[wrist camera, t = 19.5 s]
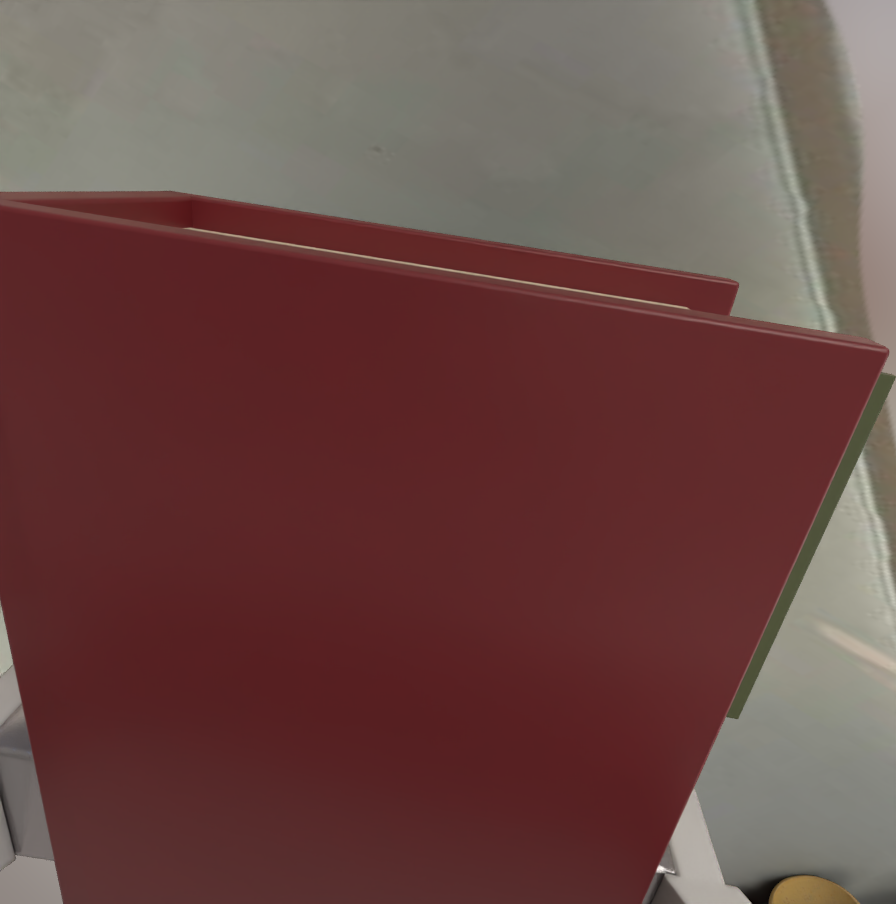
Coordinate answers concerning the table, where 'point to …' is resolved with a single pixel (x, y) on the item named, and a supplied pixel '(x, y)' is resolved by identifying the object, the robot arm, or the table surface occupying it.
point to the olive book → (813, 538)
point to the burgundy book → (383, 547)
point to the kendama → (809, 891)
